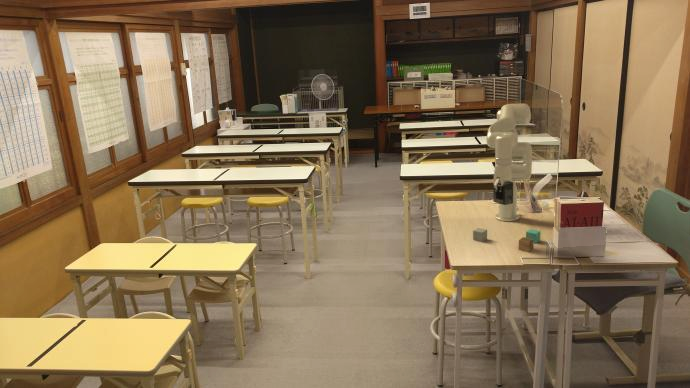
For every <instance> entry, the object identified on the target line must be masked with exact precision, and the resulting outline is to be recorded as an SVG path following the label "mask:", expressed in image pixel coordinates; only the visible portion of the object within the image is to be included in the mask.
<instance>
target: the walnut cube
mask: <svg viewBox="0 0 690 388" xmlns="http://www.w3.org/2000/svg"><path fill="white" fill-rule="evenodd" d="M534 245H535V243H534V239H531V238H526V236H524V237H522V238H520V239H519V240H518V251H520V252H521V251H522V252H526V253H530V252H531V251H533V250H534Z"/></svg>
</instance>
